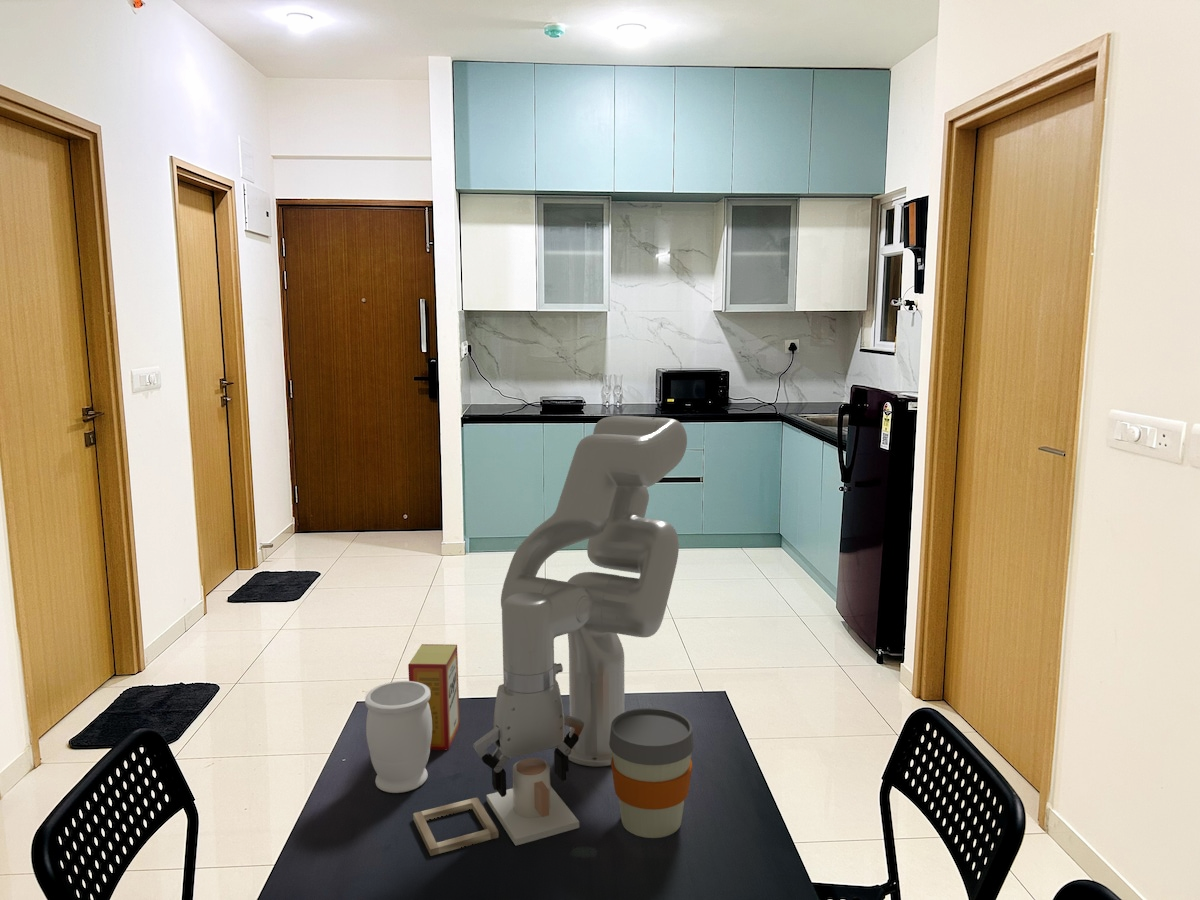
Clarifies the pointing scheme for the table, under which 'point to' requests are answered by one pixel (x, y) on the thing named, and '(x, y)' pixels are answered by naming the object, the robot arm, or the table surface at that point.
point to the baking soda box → (439, 689)
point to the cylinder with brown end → (531, 788)
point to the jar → (399, 734)
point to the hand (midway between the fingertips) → (531, 784)
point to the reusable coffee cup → (651, 769)
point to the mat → (536, 827)
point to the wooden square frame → (459, 841)
